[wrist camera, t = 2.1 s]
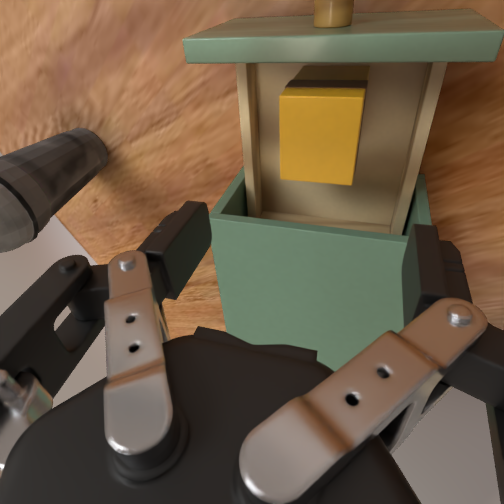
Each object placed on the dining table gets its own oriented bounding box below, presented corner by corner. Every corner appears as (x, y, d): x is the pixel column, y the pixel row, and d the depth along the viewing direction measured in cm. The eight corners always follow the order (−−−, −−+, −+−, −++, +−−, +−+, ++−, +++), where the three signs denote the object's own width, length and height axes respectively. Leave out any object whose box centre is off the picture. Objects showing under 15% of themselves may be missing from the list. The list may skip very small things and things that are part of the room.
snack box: (302, 64, 23) (277, 94, 18) (371, 64, 22) (365, 96, 17) (300, 138, 27) (279, 180, 22) (360, 141, 26) (352, 187, 20)
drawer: (231, -10, 23) (175, 1, 17) (482, -27, 19) (523, -19, 13) (248, 207, 34) (218, 260, 28) (411, 225, 30) (416, 291, 24)
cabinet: (246, 160, 31) (206, 218, 25) (424, 174, 28) (435, 246, 21) (256, 284, 42) (229, 349, 35) (387, 307, 38) (386, 386, 31)
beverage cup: (72, 97, 33) (-183, 209, 18) (131, 155, 35) (-53, 296, 21) (48, 142, 37) (-172, 261, 23) (102, 191, 40) (-67, 327, 25)
